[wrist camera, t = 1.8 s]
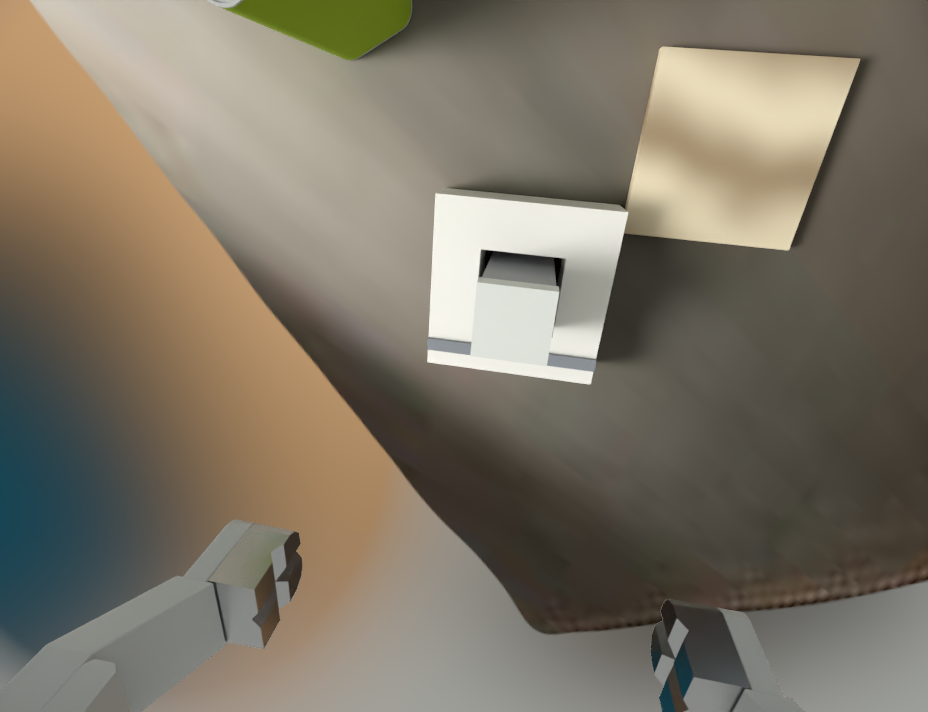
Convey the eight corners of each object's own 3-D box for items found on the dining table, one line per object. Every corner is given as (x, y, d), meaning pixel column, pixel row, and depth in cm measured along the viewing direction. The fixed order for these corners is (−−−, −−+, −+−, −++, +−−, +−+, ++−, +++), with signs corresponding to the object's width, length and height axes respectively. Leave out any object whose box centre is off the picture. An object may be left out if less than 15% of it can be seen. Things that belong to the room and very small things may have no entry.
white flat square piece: (446, 188, 31) (434, 193, 27) (619, 204, 30) (629, 213, 26) (437, 342, 36) (426, 363, 32) (586, 362, 34) (590, 386, 31)
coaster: (659, 49, 26) (662, 46, 25) (851, 61, 25) (860, 58, 24) (620, 231, 30) (622, 233, 30) (782, 247, 29) (788, 250, 29)
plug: (493, 246, 32) (476, 282, 24) (555, 253, 32) (559, 292, 23) (487, 304, 34) (470, 356, 26) (545, 311, 33) (546, 366, 25)
